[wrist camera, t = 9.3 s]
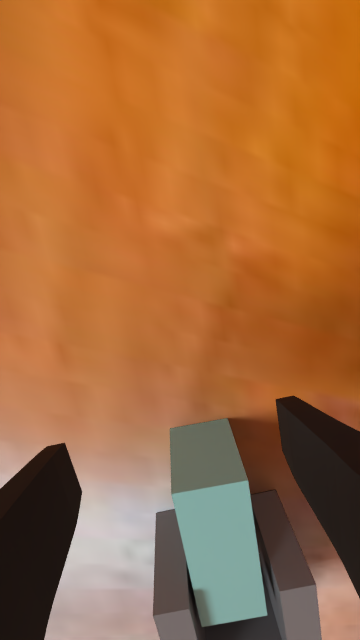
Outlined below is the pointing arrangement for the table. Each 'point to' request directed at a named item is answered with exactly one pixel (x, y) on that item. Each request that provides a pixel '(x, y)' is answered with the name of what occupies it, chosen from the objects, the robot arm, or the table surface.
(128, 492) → the table surface
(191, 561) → the plug
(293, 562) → the header
